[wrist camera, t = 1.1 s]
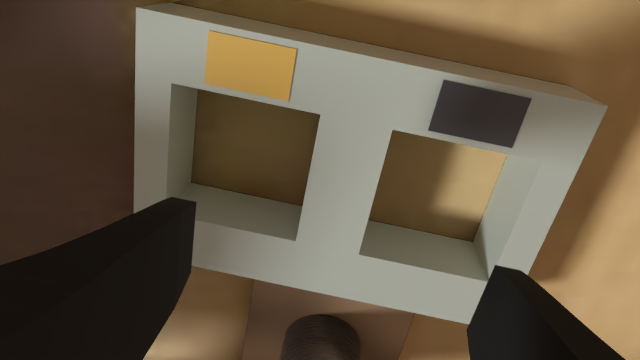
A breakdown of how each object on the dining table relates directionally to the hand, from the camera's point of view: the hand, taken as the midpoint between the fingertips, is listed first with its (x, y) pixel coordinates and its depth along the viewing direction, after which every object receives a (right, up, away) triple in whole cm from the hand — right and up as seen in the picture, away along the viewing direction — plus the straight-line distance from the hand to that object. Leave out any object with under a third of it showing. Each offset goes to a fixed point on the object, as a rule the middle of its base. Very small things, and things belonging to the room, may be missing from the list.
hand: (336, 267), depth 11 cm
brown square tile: (0, -6, +13) cm, 15 cm away
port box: (+1, +3, +9) cm, 9 cm away
